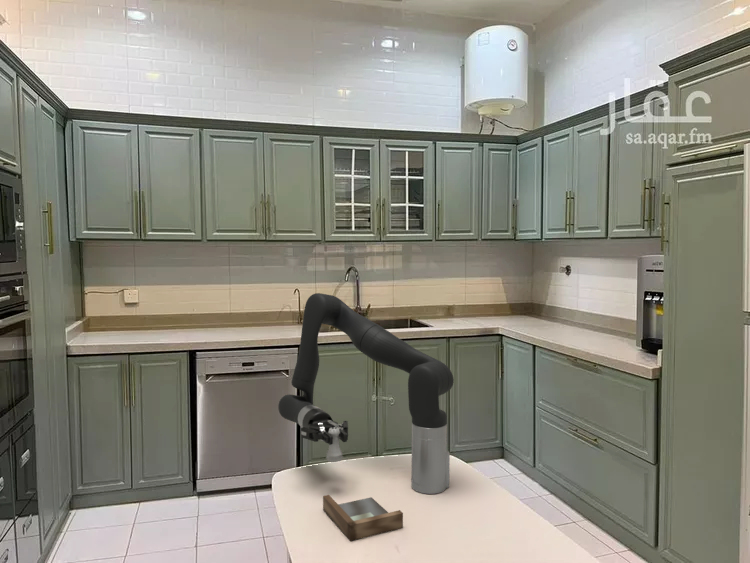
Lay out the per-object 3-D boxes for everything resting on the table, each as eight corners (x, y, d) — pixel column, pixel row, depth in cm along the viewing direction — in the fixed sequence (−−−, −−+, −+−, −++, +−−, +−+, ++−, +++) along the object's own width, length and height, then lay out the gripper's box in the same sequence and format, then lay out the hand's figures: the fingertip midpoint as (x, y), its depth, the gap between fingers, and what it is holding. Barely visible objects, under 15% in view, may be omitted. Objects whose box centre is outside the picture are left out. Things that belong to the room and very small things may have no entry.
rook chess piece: (340, 463, 138) (340, 432, 138) (323, 461, 139) (323, 431, 138) (345, 456, 142) (344, 426, 142) (328, 455, 143) (328, 425, 143)
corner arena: (371, 499, 137) (371, 485, 137) (402, 528, 123) (402, 512, 123) (323, 510, 131) (323, 495, 131) (350, 541, 117) (350, 525, 117)
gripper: (290, 411, 150) (312, 429, 134) (337, 404, 156) (363, 420, 141) (290, 438, 150) (312, 458, 135) (338, 430, 156) (363, 449, 141)
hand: (338, 439), depth 138 cm, fingers closed on rook chess piece, 3 cm apart
